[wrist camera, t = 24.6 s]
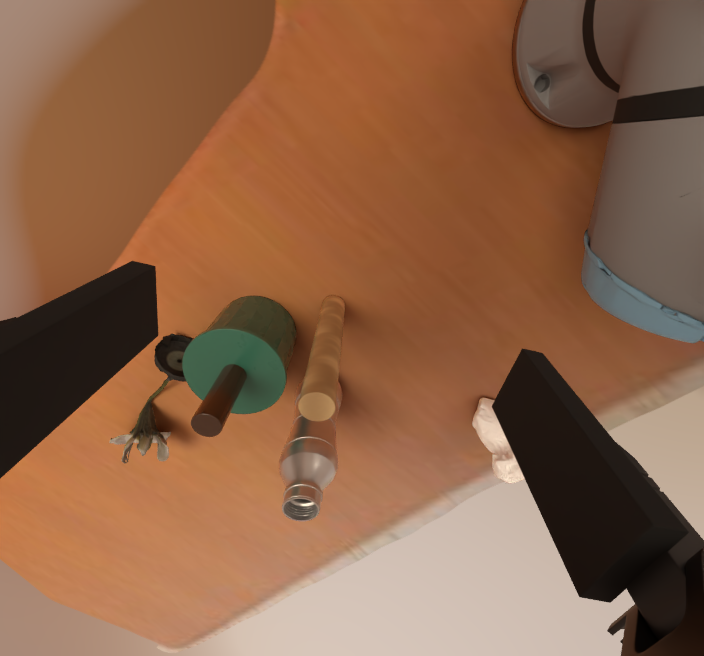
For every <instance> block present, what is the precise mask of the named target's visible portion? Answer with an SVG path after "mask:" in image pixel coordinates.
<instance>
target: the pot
mask: <svg viewBox="0 0 704 656" xmlns="http://www.w3.org/2000/svg"><path fill="white" fill-rule="evenodd" d="M225 326H229V327H239V328H243V329H247V330H249V331H252V332H254V333H256V334H258V335H260V336H262V337H263V338H265V339H266V340H267V341H269V342H270V343H271V344H272V345H273V346H274V347H275V348H276V349H277V351H278V352H279V353H280V355H281V357H282V359H283V361H284V363H285V366H286V371H287V368H288V365H289V362H290V359H291V356H292V353H293V350H294V347H295V343H296V327H295V324H294V321H293V319H292V317H291V316H290V314H289V313H288V312H287V311H286V310H285V309H284V308H283V307H282V306H281V305H279V304H278V303H276V302H275V301H273V300H270V299H268V298H265V297H260V296H246V297H242V298H239V299H236V300H235V301H233V302H231V303H230V304H229V305H228V306H227V307H226V308H225V309H224V310H223V311H222V312H221V313H220V314H219V315H218V317H217V318H216V319H215V320H214V321H213V323H212V324H211V325H210V326H209V327H208V329H207V330H209V329H212V328H216V327H225Z"/></svg>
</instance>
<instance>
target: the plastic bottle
mask: <svg viewBox="0 0 704 656" xmlns="http://www.w3.org/2000/svg"><path fill="white" fill-rule="evenodd" d="M303 382H304V378H303V379H302V381H301V382H300V384H299V385H298V387H297V389H296V393H295V416H294V422H293V426H292V428H291V432H290V435H289V437H288V440H287V442H286V444H285V447H284V449H283V451H282V454H281V457H280V460H279V470H280V475H281V478H282V480H283V482H284V484H285V485H286V489H285V491H284V500H283V505H282V511H283V513H284V515H285V516H286V517H288V518H290V519H292V520H295V521H309V520H312V519H314V518H315V517H316V516H317V515H318V514H319V511H320V505H321V501H322V497H323V492H322V491H323V490H324V489H325V488H326V487H327V486H328V485H329V484H330V483H331V482H332V480H333V479H334V477H335V474H336V472H337V469H338V457H337V447H336V420H337V415H338V411H339V408H340V405H341V402H342V390H341V386H340V383H339V382H338V387H337V398H336V409H335V412H334V414H333V415H332V416H331V417H330V418H329V419H327V420H324V421H311V420H309V419H307V418H305V417H304V416H303V415H302V414H301V413H300V411H299V408H298V403H299V399H300V394H301V390H302V386H303Z"/></svg>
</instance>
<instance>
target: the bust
mask: <svg viewBox="0 0 704 656" xmlns="http://www.w3.org/2000/svg"><path fill="white" fill-rule="evenodd" d="M494 401H495V400H491V399H487V398H481V399H480V400H479V403H478V408H477V411H476V412H475V415H474V419H473V422H472V425H473V427H474V428H475V429H476V432H477V434H478V435H479V438H480V440H481V441H482V442H483V443H484V445H485V446H486V447H487V449H488V450H489V451H490V452H492V453H494V454H493V455H492V457H493V463H492V466H493V470H494V475H495V476H496V477H497V478H499V479H502V480H503V481H505V482H506V483H509V484H511V483H515V482H517V481H522V480H524V479H525V478H524V476H523V473H522V471H521V469H520V467H519V465H518V463H517V460H516V458H515V456H514V454H513V452H512V450H511V447H510V445H509V443H508V441H507V439H506V437H505V434H504V432H503V430H502V428H501V426H500V424H499V421H498V419H497V417H496V415H495V413H494V411H493V408H492V405H493V403H494ZM495 454H497V455H495Z"/></svg>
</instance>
